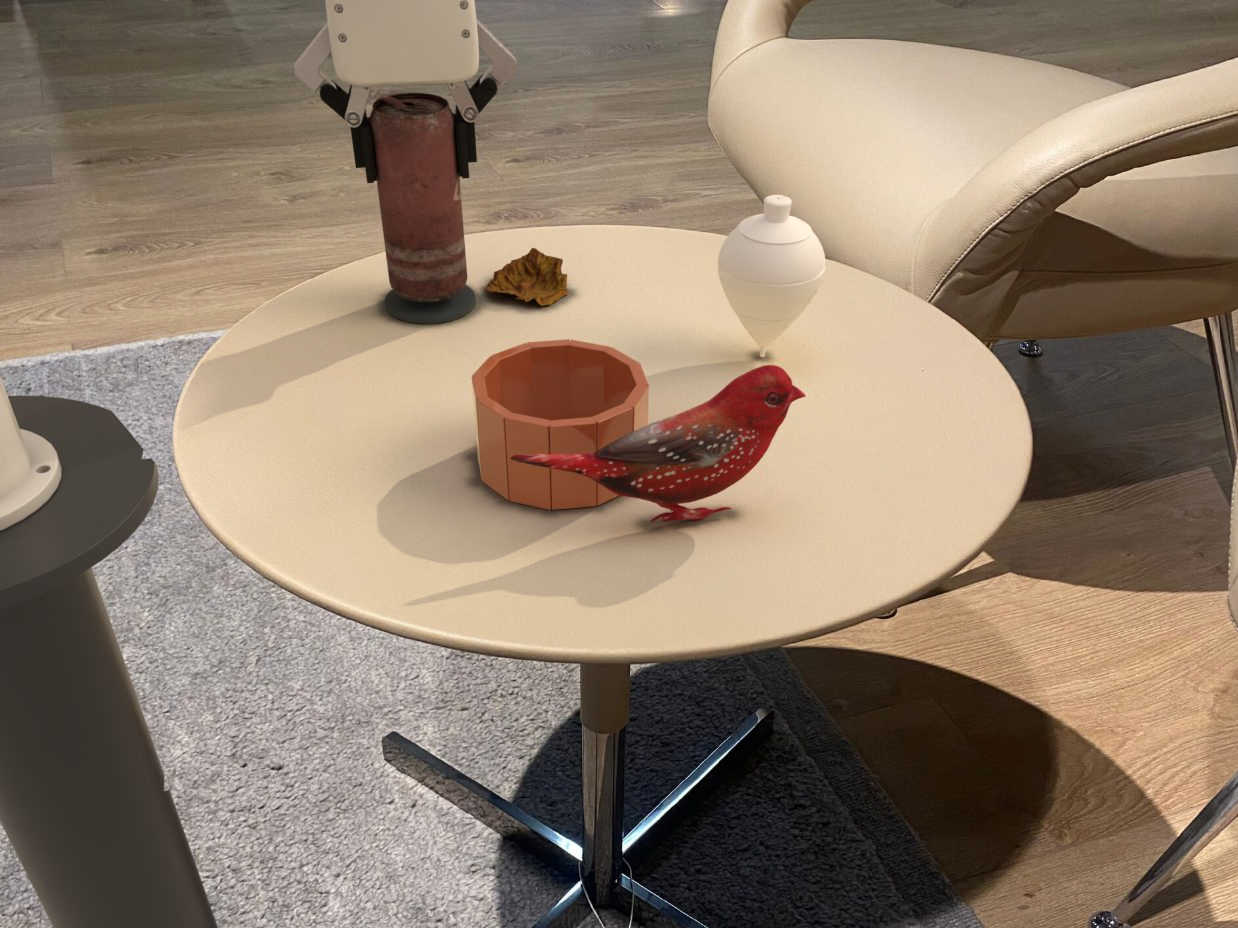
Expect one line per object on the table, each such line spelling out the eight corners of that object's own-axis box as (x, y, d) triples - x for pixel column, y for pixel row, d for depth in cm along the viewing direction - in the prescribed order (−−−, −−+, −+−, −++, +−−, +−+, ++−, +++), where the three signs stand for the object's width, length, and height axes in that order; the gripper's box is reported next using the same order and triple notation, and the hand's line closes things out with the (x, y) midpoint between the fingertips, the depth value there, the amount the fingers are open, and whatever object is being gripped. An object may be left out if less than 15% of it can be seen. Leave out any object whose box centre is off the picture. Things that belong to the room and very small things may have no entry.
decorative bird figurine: (800, 518, 74) (819, 373, 67) (519, 559, 70) (511, 410, 64) (783, 492, 76) (801, 349, 69) (510, 531, 72) (501, 384, 66)
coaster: (387, 327, 92) (386, 321, 92) (383, 287, 98) (383, 281, 97) (479, 320, 93) (479, 314, 93) (471, 281, 99) (471, 275, 98)
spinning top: (831, 371, 88) (854, 211, 80) (738, 389, 86) (752, 226, 78) (784, 326, 93) (801, 172, 86) (695, 342, 91) (704, 185, 83)
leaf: (470, 296, 97) (469, 278, 96) (521, 258, 101) (520, 241, 100) (535, 324, 95) (534, 306, 94) (584, 284, 99) (584, 266, 97)
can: (409, 265, 97) (389, 85, 88) (480, 277, 96) (467, 95, 87) (373, 296, 93) (348, 109, 84) (447, 309, 91) (429, 120, 82)
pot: (487, 516, 73) (481, 432, 69) (472, 426, 81) (465, 346, 77) (659, 500, 75) (662, 417, 71) (627, 413, 83) (628, 334, 79)
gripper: (516, -117, 81) (526, 151, 93) (255, -114, 78) (300, 162, 90) (529, -97, 75) (539, 187, 87) (249, -92, 73) (298, 199, 85)
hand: (417, 172), depth 89 cm, fingers closed on can, 6 cm apart
